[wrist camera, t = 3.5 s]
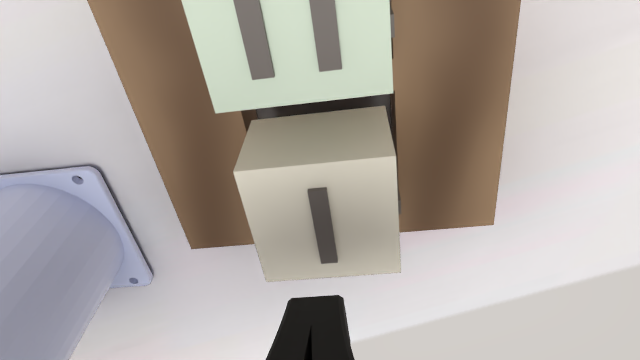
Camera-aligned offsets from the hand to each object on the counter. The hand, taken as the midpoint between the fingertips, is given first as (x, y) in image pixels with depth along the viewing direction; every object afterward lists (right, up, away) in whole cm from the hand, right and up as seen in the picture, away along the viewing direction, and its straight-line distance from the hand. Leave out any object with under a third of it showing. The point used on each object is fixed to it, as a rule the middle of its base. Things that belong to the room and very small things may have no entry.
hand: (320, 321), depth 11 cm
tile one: (0, +4, +6) cm, 7 cm away
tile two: (-1, +10, +2) cm, 10 cm away
